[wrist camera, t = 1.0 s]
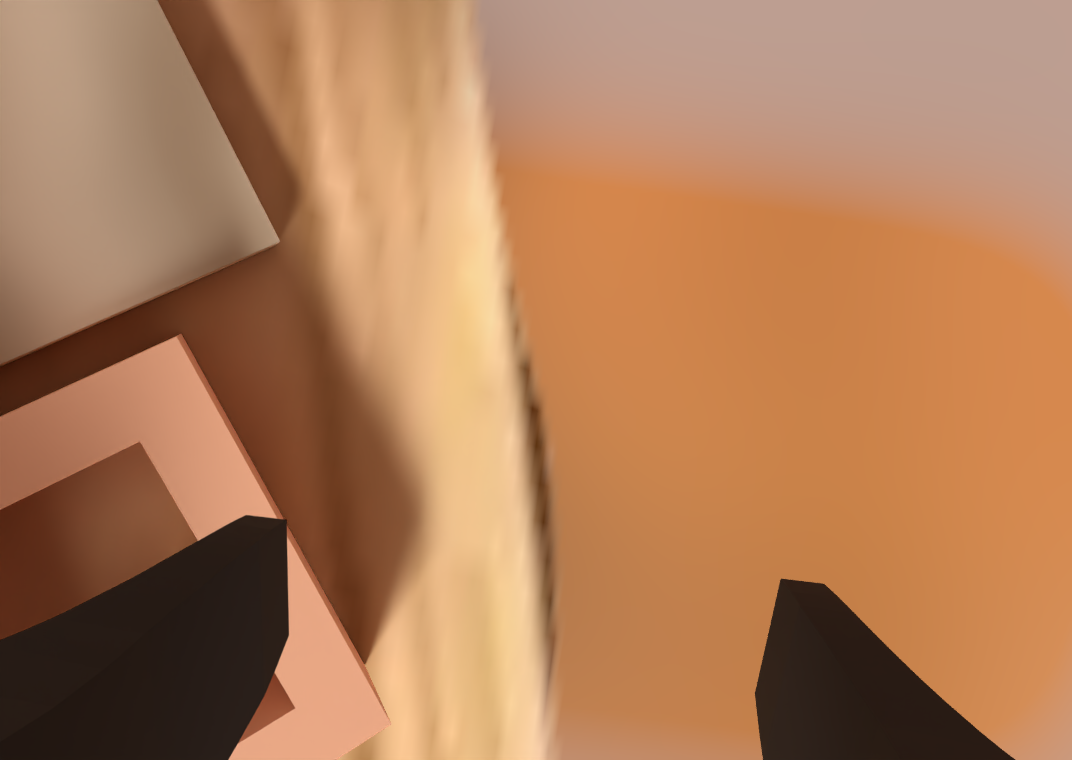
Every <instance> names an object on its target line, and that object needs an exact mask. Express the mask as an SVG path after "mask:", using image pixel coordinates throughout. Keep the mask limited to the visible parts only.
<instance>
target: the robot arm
mask: <svg viewBox="0 0 1072 760" xmlns="http://www.w3.org/2000/svg"><path fill="white" fill-rule="evenodd" d="M288 637H289V606H288V558H287V520H285V519H276V518H268V517H260V516H251V515H245V516H243V517H241V518H239V519H237V520H235V521H233V522H231V523H229V524H227V525H225V526H224V527H222V528H220V529H218V530H216V531H215V532H213V533H211V534H209V535H208V536H206V537H204V538H202V539H201V540H199V541H197V542H195V543H194V544H192V545H190V546H188V547H187V548H185V549H183V550H181V551H180V552H178V553H176V554H174V555H173V556H171V557H169V558H167V559H165V560H164V561H162V562H160V563H158V564H157V565H155V566H153V567H151V568H149V569H148V570H146V571H144V572H142V573H141V574H139V575H137V576H135V577H133V578H131V579H129V580H127V581H125V582H124V583H122V584H120V585H118V586H116V587H114V588H112V589H110V590H108V591H106V592H104V593H102V594H100V595H98V596H96V597H94V598H92V599H90V600H88V601H86V602H84V603H82V604H80V605H78V606H76V607H75V608H73V609H71V610H69V611H66V612H64V613H62V614H60V615H58V616H56V617H54V618H51V619H49V620H47V621H45V622H42V623H40V624H38V625H36V626H33V627H31V628H29V629H26V630H24V631H22V632H19V633H17V634H14V635H12V636H9V637H7V638H5V639H2V640H0V760H229V758H230V756H231V754H232V753H233V751H234V749H235V748H236V746H237V744H238V742H239V740H240V739H241V737H242V735H243V733H244V732H245V730H246V728H247V726H248V725H249V723H250V721H251V719H252V717H253V716H254V714H255V712H256V710H257V709H258V707H259V705H260V703H261V701H262V699H263V698H264V696H265V693H266V691H267V689H268V686H269V684H270V682H271V679H272V677H273V675H274V672H275V670H276V667H277V665H278V662H279V660H280V657H281V655H282V652H283V649H284V647H285V644H286V642H287V639H288ZM755 698H756V707H757V716H758V724H759V733H760V741H761V747H762V755H763V760H1015V759H1014V758H1012V757H1011V756H1010V755H1008V754H1007V753H1006V752H1004V751H1003V750H1002V749H1000V748H999V747H998V746H997V745H996V744H994V743H993V742H992V741H991V740H989V739H988V738H987V737H986V736H985V735H983V734H982V733H981V732H979V730H977V729H976V728H975V727H974V726H973V725H972V724H970V723H969V722H968V721H967V720H966V719H965V718H964V717H962V716H961V715H960V714H959V713H958V712H957V711H956V710H954V709H953V708H952V707H951V706H950V705H949V704H947V703H946V702H945V701H944V700H943V699H942V698H941V697H940V696H939V695H937V694H936V693H935V692H934V691H933V690H932V689H931V688H930V687H929V686H928V685H927V684H926V683H924V682H923V681H922V680H921V679H920V678H919V677H918V676H917V675H916V674H915V673H914V672H913V671H912V670H910V668H909V667H908V666H907V665H906V664H905V663H904V662H902V661H901V660H900V659H899V658H898V657H897V656H896V655H895V654H894V653H893V652H892V651H891V650H890V649H889V648H888V647H887V646H886V645H885V644H884V643H883V642H882V641H881V640H880V639H879V638H878V637H877V636H876V635H875V634H874V633H873V632H872V631H871V630H870V629H869V628H868V627H867V626H866V625H865V624H864V623H863V622H862V621H861V620H860V619H859V618H858V617H857V616H856V614H854V612H852V610H851V609H850V608H849V607H848V606H847V605H846V604H845V603H844V602H843V601H842V600H840V598H839V597H838V596H837V595H836V594H834V593H833V592H832V591H831V590H830V589H829V588H828V587H827V586H826V585H825V584H821V583H812V582H804V581H795V580H787V579H781V580H780V585H779V589H778V593H777V598H776V602H775V607H774V611H773V616H772V620H771V625H770V629H769V633H768V639H767V643H766V647H765V651H764V656H763V660H762V665H761V669H760V673H759V678H758V682H757V687H756V691H755Z"/></svg>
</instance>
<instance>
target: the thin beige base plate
mask: <svg viewBox="0 0 1072 760" xmlns="http://www.w3.org/2000/svg"><path fill="white" fill-rule="evenodd" d="M279 242H280V240H279V238H278V236H277V234H276V232H275V230H274V228H273V226H272V224H271V222H270V220H269V218H268V216H267V214H266V213H265V211H264V209H263V207H262V205H261V203H260V201H259V199H258V197H257V195H256V193H255V191H254V189H253V187H252V185H251V183H250V181H249V179H248V177H247V175H246V173H245V171H244V169H243V167H242V165H241V163H240V162H239V160H238V158H237V156H236V154H235V152H234V150H233V148H232V146H231V144H230V142H229V140H228V138H227V136H226V134H225V132H224V130H223V128H222V126H221V124H220V122H219V120H218V118H217V116H216V114H215V112H214V111H213V109H212V107H211V105H210V103H209V101H208V99H207V97H206V95H205V93H204V91H203V89H202V87H201V85H200V83H199V81H198V79H197V77H196V75H195V73H194V71H193V69H192V67H191V65H190V63H189V61H188V60H187V58H186V56H185V54H184V52H183V50H182V48H181V46H180V44H179V42H178V40H177V38H176V36H175V34H174V32H173V30H172V28H171V26H170V24H169V22H168V20H167V18H166V16H165V14H164V12H163V10H162V9H161V7H160V5H159V3H158V1H157V0H0V367H1V366H3V365H5V364H8V363H10V362H12V361H14V360H17V359H19V358H21V357H23V356H26V355H28V354H30V353H33V352H35V351H37V350H39V349H42V348H44V347H46V346H48V345H51V344H53V343H55V342H58V341H60V340H62V339H64V338H67V337H69V336H71V335H73V334H76V333H78V332H80V331H83V330H85V329H87V328H89V327H92V326H94V325H96V324H98V323H101V322H103V321H105V320H107V319H110V318H112V317H114V316H117V315H119V314H121V313H123V312H126V311H128V310H130V309H132V308H135V307H137V306H139V305H142V304H144V303H146V302H148V301H151V300H153V299H155V298H157V297H160V296H162V295H164V294H167V293H169V292H171V291H173V290H176V289H178V288H180V287H182V286H185V285H187V284H189V283H192V282H194V281H196V280H198V279H201V278H203V277H205V276H207V275H210V274H212V273H214V272H216V271H219V270H221V269H223V268H226V267H228V266H230V265H232V264H235V263H237V262H239V261H241V260H244V259H246V258H248V257H251V256H253V255H255V254H257V253H260V252H262V251H264V250H266V249H269V248H271V247H273V246H276V245H277V244H278V243H279Z"/></svg>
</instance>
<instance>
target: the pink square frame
mask: <svg viewBox="0 0 1072 760" xmlns="http://www.w3.org/2000/svg"><path fill="white" fill-rule="evenodd" d="M138 442H141V444H142V446H143V448H144V449H145V451H146V453H147V454H148V456H149V458H150V460H151V461H152V463H153V465H154V466H155V468H156V470H157V472H158V473H159V475H160V477H161V478H162V480H163V482H164V484H165V485H166V487H167V489H168V490H169V492H170V494H171V496H172V497H173V499H174V501H175V502H176V504H177V506H178V508H179V509H180V511H181V513H182V514H183V516H184V518H185V520H186V521H187V523H188V525H189V526H190V528H191V530H192V532H193V533H194V535H195V537H196V538H197V540H198V541H199V540H201V539H202V538H204V537H206V536H208V535H209V534H211V533H213V532H215V531H216V530H218V529H220V528H222V527H224V526H225V525H227V524H229V523H231V522H233V521H235V520H237V519H239V518H241V517H243V516H245V515H251V516H260V517H268V518H276V519H283V517H282V515H281V513H280V511H279V509H278V508H277V506H276V504H275V502H274V500H273V499H272V497H271V495H270V493H269V491H268V490H267V488H266V486H265V484H264V482H263V481H262V479H261V477H260V475H259V473H258V471H257V470H256V468H255V466H254V464H253V462H252V461H251V459H250V457H249V455H248V453H247V452H246V450H245V448H244V446H243V444H242V443H241V441H240V439H239V437H238V435H237V433H236V432H235V430H234V428H233V426H232V424H231V423H230V421H229V419H228V417H227V415H226V414H225V412H224V410H223V408H222V406H221V405H220V403H219V401H218V399H217V397H216V395H215V394H214V392H213V390H212V388H211V386H210V385H209V383H208V381H207V379H206V377H205V376H204V374H203V372H202V370H201V368H200V367H199V365H198V363H197V361H196V359H195V357H194V356H193V354H192V352H191V350H190V348H189V347H188V345H187V343H186V341H185V339H184V338H183V336H182V334H179V335H177V336H174V337H172V338H170V339H168V340H166V341H163V342H161V343H159V344H157V345H155V346H153V347H150V348H148V349H146V350H144V351H142V352H139V353H137V354H135V355H133V356H131V357H128V358H126V359H124V360H122V361H120V362H118V363H115V364H113V365H111V366H109V367H107V368H104V369H102V370H100V371H98V372H96V373H93V374H91V375H89V376H87V377H85V378H83V379H80V380H78V381H76V382H74V383H72V384H69V385H67V386H65V387H63V388H61V389H58V390H56V391H54V392H52V393H50V394H48V395H45V396H43V397H41V398H39V399H37V400H34V401H32V402H30V403H28V404H26V405H23V406H21V407H19V408H17V409H15V410H13V411H10V412H8V413H6V414H4V415H2V416H0V510H1V509H3V508H5V507H7V506H9V505H11V504H13V503H15V502H17V501H19V500H21V499H23V498H25V497H27V496H30V495H32V494H34V493H36V492H38V491H40V490H42V489H44V488H46V487H48V486H50V485H52V484H54V483H56V482H58V481H60V480H62V479H64V478H66V477H68V476H70V475H73V474H75V473H77V472H79V471H81V470H83V469H85V468H87V467H89V466H91V465H93V464H95V463H97V462H99V461H101V460H103V459H105V458H107V457H109V456H111V455H113V454H116V453H118V452H120V451H122V450H124V449H126V448H128V447H130V446H132V445H134V444H136V443H138ZM287 558H288V606H289V637H288V639H287V642H286V644H285V647H284V649H283V652H282V655H281V657H280V660H279V662H278V665H277V667H276V670H275V672H274V675H273V677H272V679H271V682H270V684H269V686H268V689H267V691H266V693H265V696H264V698H263V699H262V701H261V703H260V705H259V707H258V709H257V710H256V712H255V714H254V716H253V717H252V719H251V721H250V723H249V725H248V726H247V728H246V730H245V732H244V733H243V735H242V737H241V739H240V740H239V742H238V744H237V746H236V748H235V749H234V751H233V753H232V754H231V756H230V758H229V760H337V759H338V758H340V757H341V756H343V755H344V754H346V753H348V752H349V751H351V750H352V749H354V748H355V747H357V746H358V745H360V744H361V743H363V742H365V741H366V740H368V739H369V738H371V737H372V736H374V735H375V734H377V733H379V732H380V731H382V730H383V729H385V728H386V727H388V726H389V725H391V722H390V720H389V718H388V716H387V713H386V711H385V709H384V707H383V705H382V702H381V700H380V698H379V696H378V694H377V691H376V689H375V687H374V685H373V683H372V680H371V678H370V676H369V674H368V672H367V669H366V667H365V665H364V663H363V662H362V660H361V658H360V656H359V654H358V652H357V651H356V649H355V647H354V645H353V643H352V642H351V640H350V638H349V636H348V634H347V633H346V631H345V629H344V627H343V625H342V624H341V622H340V620H339V618H338V616H337V614H336V613H335V611H334V609H333V607H332V605H331V604H330V602H329V600H328V598H327V596H326V595H325V593H324V591H323V589H322V587H321V586H320V584H319V582H318V580H317V578H316V576H315V575H314V573H313V571H312V569H311V567H310V566H309V564H308V562H307V560H306V558H305V557H304V555H303V553H302V551H301V549H300V548H299V546H298V544H297V542H296V540H295V538H294V537H293V535H292V533H291V531H290V529H289V528H288V526H287Z"/></svg>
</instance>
